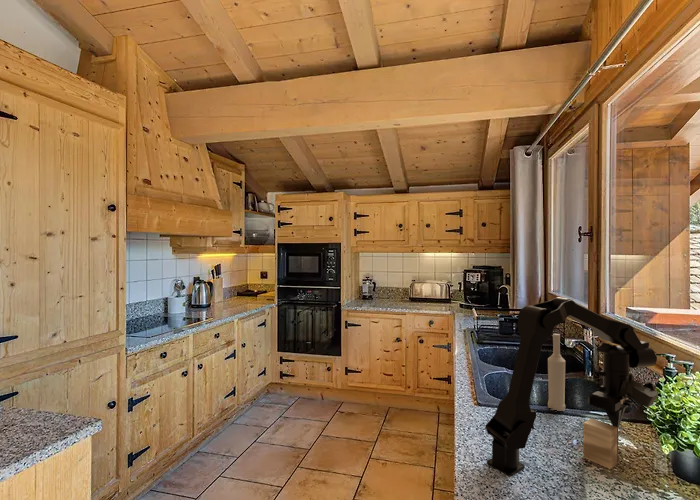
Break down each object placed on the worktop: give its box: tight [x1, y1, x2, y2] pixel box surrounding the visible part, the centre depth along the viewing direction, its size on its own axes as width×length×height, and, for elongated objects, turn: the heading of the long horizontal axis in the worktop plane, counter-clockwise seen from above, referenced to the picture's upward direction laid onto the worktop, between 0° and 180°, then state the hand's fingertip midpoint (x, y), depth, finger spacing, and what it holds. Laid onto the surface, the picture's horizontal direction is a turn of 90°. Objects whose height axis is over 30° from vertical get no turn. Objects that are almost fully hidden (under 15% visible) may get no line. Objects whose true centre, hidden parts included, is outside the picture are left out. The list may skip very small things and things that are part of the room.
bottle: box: [547, 333, 566, 412], centre depth 124 cm, size 5×5×25 cm
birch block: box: [583, 417, 619, 470], centre depth 94 cm, size 4×6×9 cm
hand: (615, 427), depth 99 cm, fingers closed
